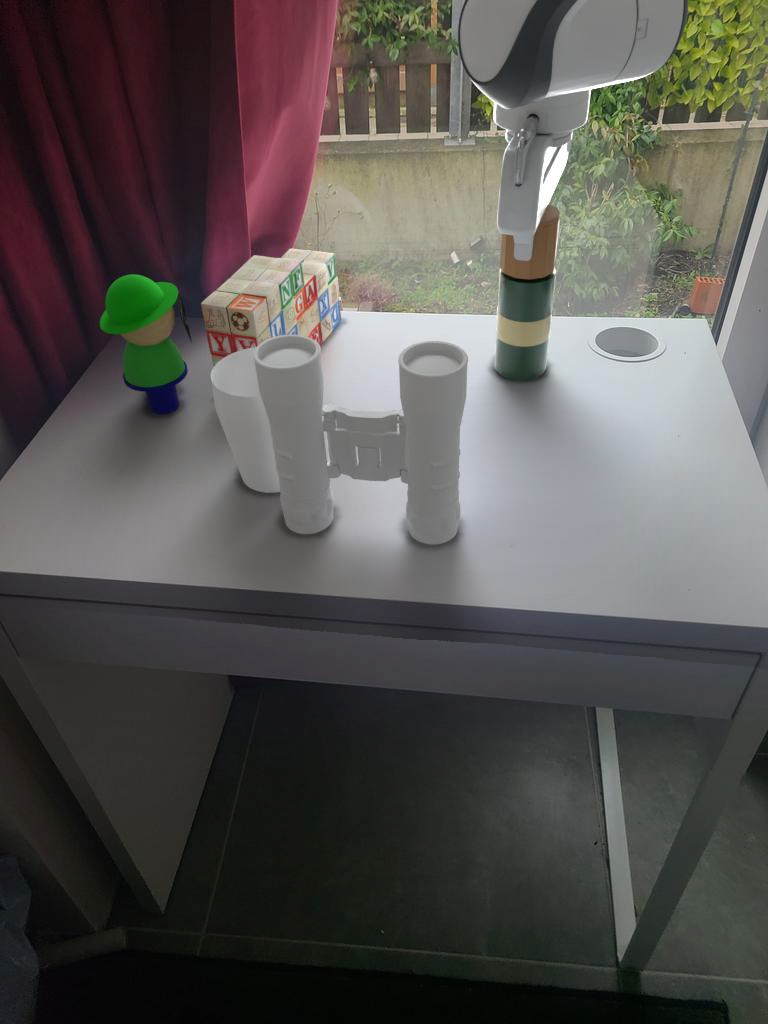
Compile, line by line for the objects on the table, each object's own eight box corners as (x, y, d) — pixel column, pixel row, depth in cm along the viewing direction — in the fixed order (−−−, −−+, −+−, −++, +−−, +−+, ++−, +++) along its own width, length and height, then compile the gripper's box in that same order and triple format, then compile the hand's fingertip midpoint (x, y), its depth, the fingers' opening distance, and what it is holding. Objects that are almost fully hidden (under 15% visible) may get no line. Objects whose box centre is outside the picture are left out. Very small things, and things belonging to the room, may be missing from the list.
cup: (299, 437, 87) (286, 336, 79) (333, 484, 81) (322, 380, 73) (218, 462, 84) (196, 361, 76) (247, 513, 78) (226, 408, 70)
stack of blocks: (298, 314, 108) (288, 223, 99) (342, 321, 106) (335, 228, 98) (219, 401, 93) (198, 301, 85) (268, 410, 91) (252, 309, 83)
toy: (208, 411, 91) (181, 286, 81) (130, 430, 89) (92, 304, 79) (192, 373, 98) (165, 252, 88) (119, 389, 95) (83, 268, 85)
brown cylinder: (558, 258, 89) (564, 203, 85) (549, 281, 85) (555, 224, 81) (506, 253, 90) (509, 199, 86) (495, 276, 86) (498, 220, 82)
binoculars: (465, 511, 77) (470, 342, 65) (459, 551, 73) (465, 378, 61) (288, 497, 79) (263, 332, 67) (274, 535, 75) (244, 367, 63)
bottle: (550, 357, 97) (565, 216, 86) (541, 384, 93) (556, 239, 81) (499, 351, 99) (508, 211, 87) (488, 377, 94) (496, 234, 83)
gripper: (557, 137, 68) (543, 290, 77) (589, 74, 83) (573, 210, 92) (484, 133, 70) (478, 283, 79) (527, 72, 84) (518, 205, 94)
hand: (529, 243), depth 86 cm, fingers closed on brown cylinder, 6 cm apart
